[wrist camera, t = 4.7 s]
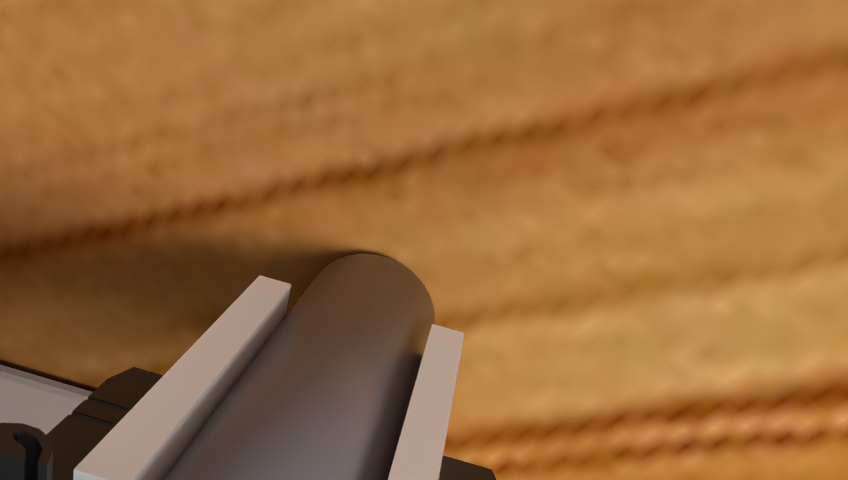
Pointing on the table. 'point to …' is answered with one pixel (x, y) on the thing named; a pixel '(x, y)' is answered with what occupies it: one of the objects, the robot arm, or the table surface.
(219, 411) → the marker
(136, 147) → the table surface
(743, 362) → the table surface
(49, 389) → the socket block
